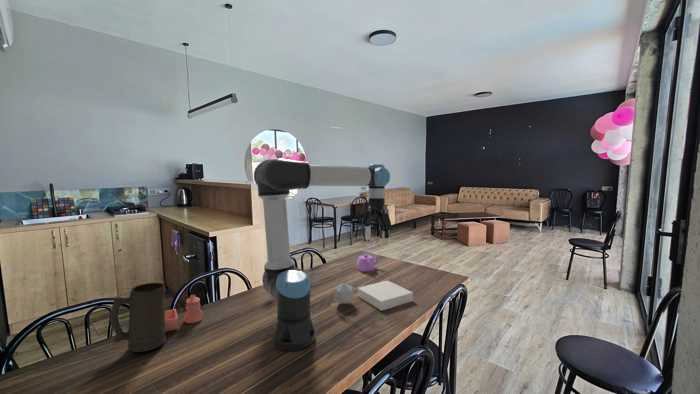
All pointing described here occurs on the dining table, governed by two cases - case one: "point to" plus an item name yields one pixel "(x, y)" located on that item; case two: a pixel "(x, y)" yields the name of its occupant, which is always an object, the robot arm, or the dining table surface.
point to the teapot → (366, 263)
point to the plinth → (385, 295)
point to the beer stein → (142, 317)
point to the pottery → (190, 316)
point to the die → (343, 293)
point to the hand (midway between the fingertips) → (376, 242)
